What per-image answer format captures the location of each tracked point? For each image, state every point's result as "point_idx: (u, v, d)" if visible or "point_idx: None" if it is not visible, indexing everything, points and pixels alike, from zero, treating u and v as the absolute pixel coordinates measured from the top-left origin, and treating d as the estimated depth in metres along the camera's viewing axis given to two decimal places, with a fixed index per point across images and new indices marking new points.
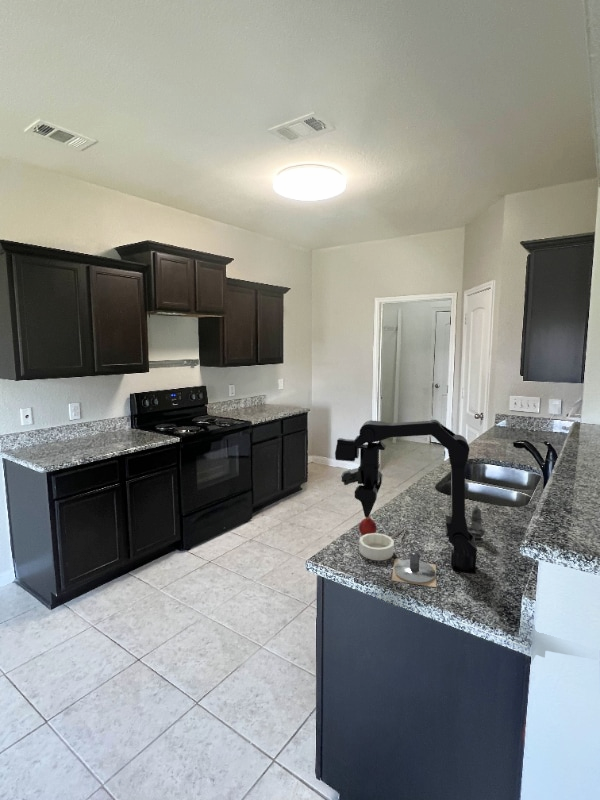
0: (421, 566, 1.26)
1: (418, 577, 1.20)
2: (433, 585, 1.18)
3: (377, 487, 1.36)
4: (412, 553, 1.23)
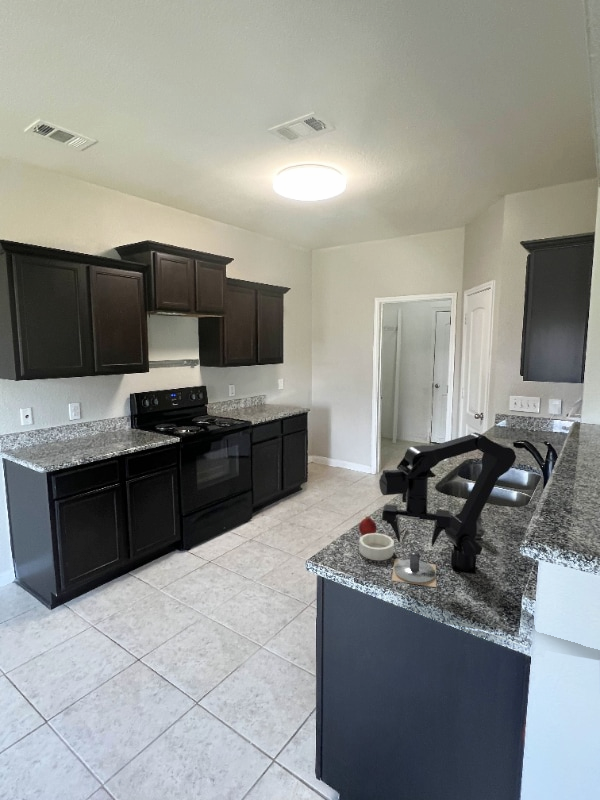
0: (421, 566, 1.26)
1: (418, 577, 1.20)
2: (433, 585, 1.18)
3: (434, 529, 1.19)
4: (412, 553, 1.23)
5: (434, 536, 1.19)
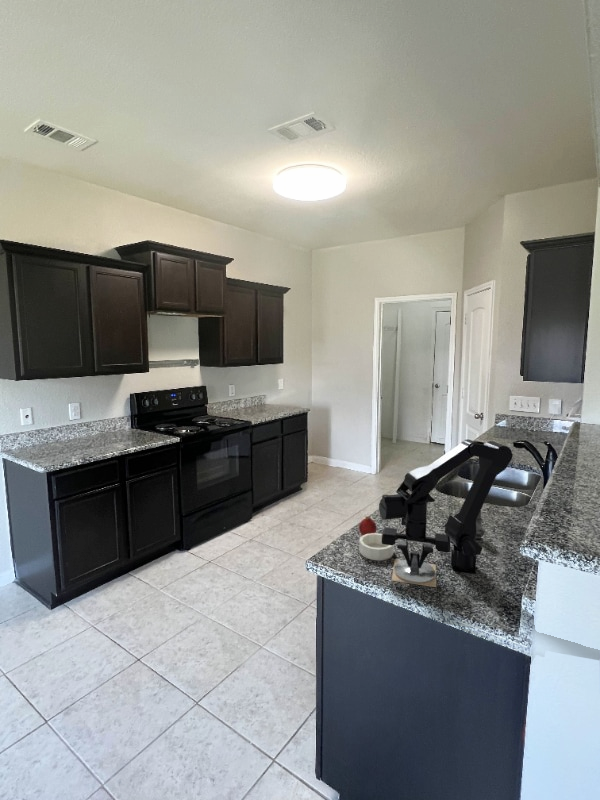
0: (421, 566, 1.26)
1: (418, 577, 1.20)
2: (433, 585, 1.18)
3: (421, 551, 1.21)
4: (412, 553, 1.23)
5: (421, 559, 1.21)
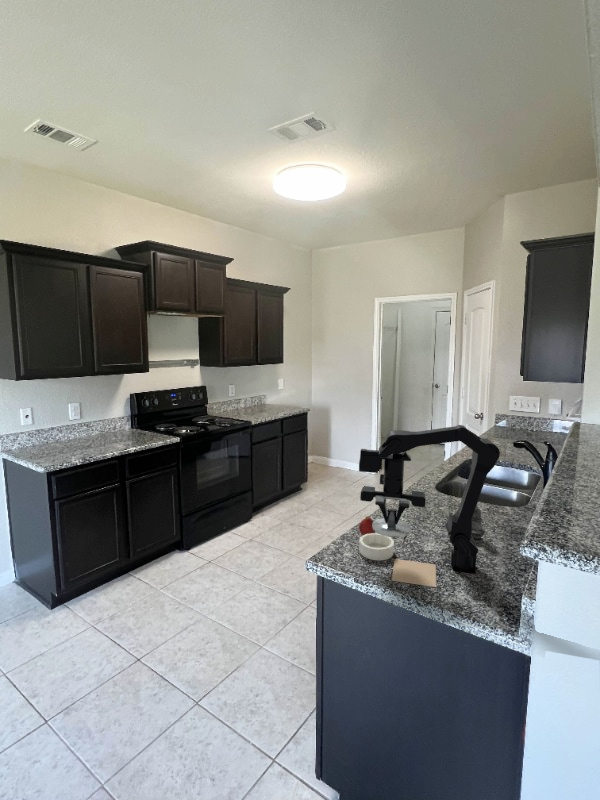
0: (398, 523, 1.31)
1: (395, 532, 1.25)
2: (433, 585, 1.18)
3: (398, 507, 1.26)
4: (389, 510, 1.28)
5: (398, 514, 1.26)
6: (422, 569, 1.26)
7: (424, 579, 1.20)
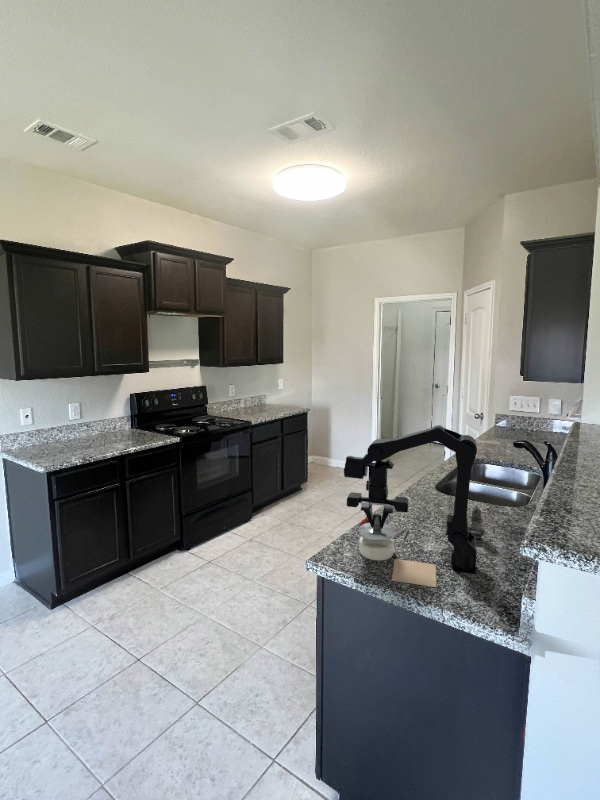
0: (384, 527, 1.37)
1: (379, 536, 1.31)
2: (433, 585, 1.18)
3: None
4: (375, 515, 1.34)
5: (382, 519, 1.32)
6: (422, 569, 1.26)
7: (424, 579, 1.20)
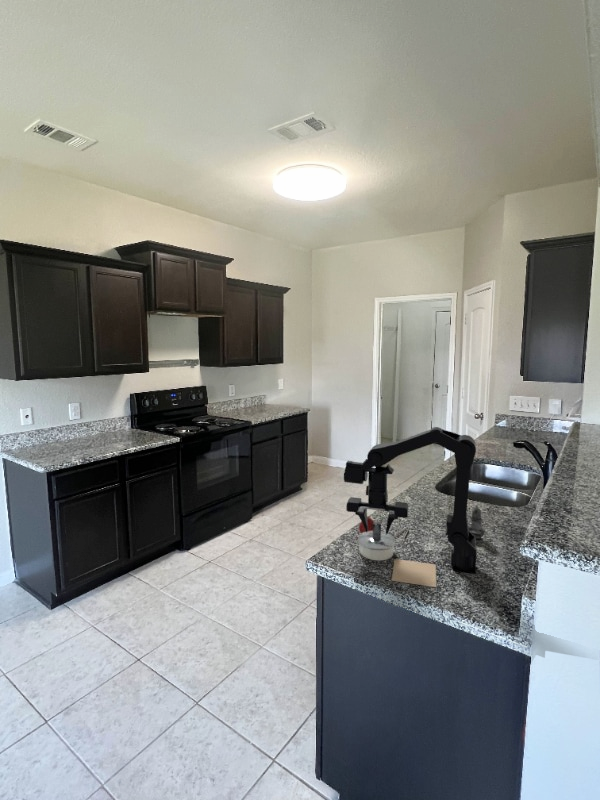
0: (383, 536, 1.37)
1: (379, 545, 1.31)
2: (433, 585, 1.18)
3: None
4: (374, 523, 1.35)
5: (387, 525, 1.32)
6: (422, 569, 1.26)
7: (424, 579, 1.20)
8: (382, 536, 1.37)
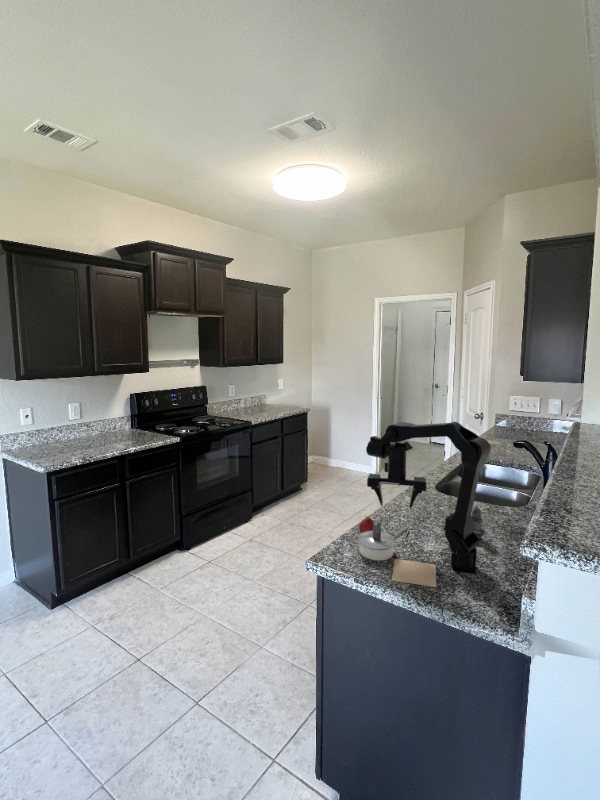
0: (383, 536, 1.37)
1: (379, 545, 1.31)
2: (433, 585, 1.18)
3: (412, 492, 1.37)
4: (374, 523, 1.35)
5: (412, 499, 1.37)
6: (422, 569, 1.26)
7: (424, 579, 1.20)
8: (382, 536, 1.37)
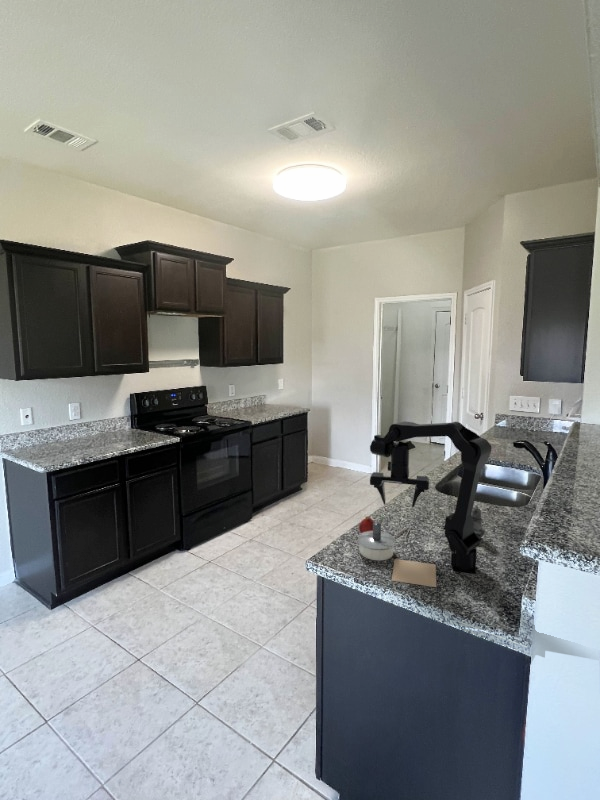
0: (383, 536, 1.37)
1: (379, 545, 1.31)
2: (433, 585, 1.18)
3: (414, 491, 1.38)
4: (374, 523, 1.35)
5: (414, 498, 1.38)
6: (422, 569, 1.26)
7: (424, 579, 1.20)
8: (382, 536, 1.37)
